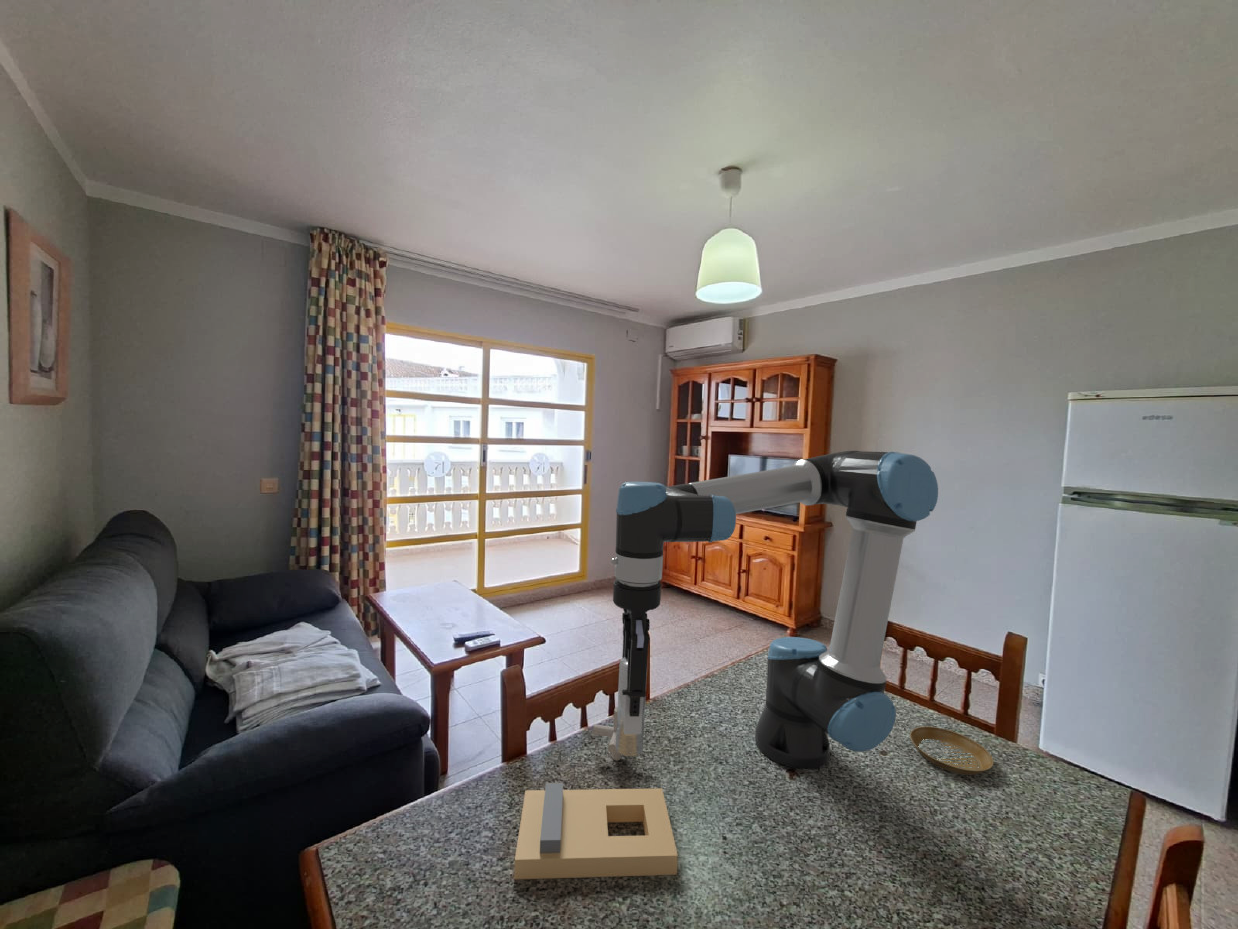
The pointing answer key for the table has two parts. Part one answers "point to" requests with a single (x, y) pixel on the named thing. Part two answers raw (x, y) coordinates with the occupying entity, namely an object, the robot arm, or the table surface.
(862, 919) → the table surface
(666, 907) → the table surface
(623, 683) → the grey metal cylinder
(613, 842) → the jig
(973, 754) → the plant saucer
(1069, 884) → the table surface
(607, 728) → the pipe connector
